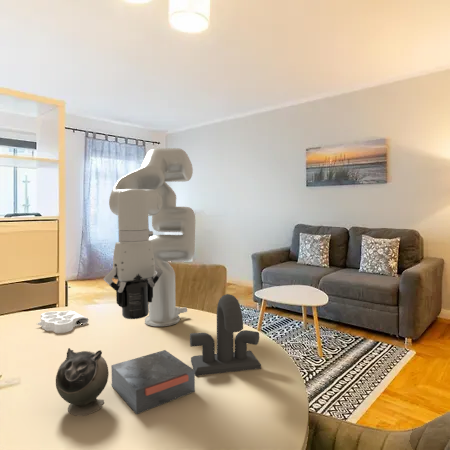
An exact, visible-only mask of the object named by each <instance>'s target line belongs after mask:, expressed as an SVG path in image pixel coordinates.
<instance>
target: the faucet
mask: <svg viewBox="0 0 450 450" xmlns="http://www.w3.org/2000/svg"><path fill="white" fill-rule="evenodd" d="M234 333H236V335H235V338H234ZM259 342H260V332H259V331H255V330H254V331H253V330H244V320H243V312H242V308H241V305H240V302H239V300H238V299H237V297H236V296H234V295H233V294H229V293H226V294H224V295H222V296H221V297H220V298H219V299H218V302H217V306H216V342H215V339H214V338H213V336H212V335H211V334H209V333H208V332H192V333H191V332H190V333H189V346H190V347H202V348H201V352H202V353H201V354H199V355H193V356H191V357H190V363H191V366H192V369H194V370H195V377H198V376H199V377H200V376H206V375H208V376H209V375H214V374H215V375H216V374H225V373H233V372H234V373H235V372H242V371H243V372H244V371H251V370H261V369H262V364H261V363H260V361H259V360H258V358H257V357H256V356H255V354H254V353H253V352H252V350H250V349H249V350H247V349H248V344H249V345H255V346H257V345H258V344H259ZM215 343H216V345H215ZM215 346H216V347H215Z"/></svg>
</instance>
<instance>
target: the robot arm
mask: <svg viewBox="0 0 450 450" xmlns="http://www.w3.org/2000/svg"><path fill="white" fill-rule="evenodd" d="M193 171H194V169H193V164H192V162H191V159H190V157H189V156H188V154H187V152H186V151H185V150H184V149H182V148H176V147H174V148H170V147H169V148H168V147H167V148H165V147H163V148H162V147H161V148H160V147H158V148H153V149H150V150H148V151H147V153H146V154H145V156H144V158H143V161H142V162H141V165H140V167H139V168H137V169H135V170H134V171H131V172H129V173H127V174H126V175H124V176H121V178H119V179H118V180H117V181H116V182H115V184H114V186H113V188H112V190H111V192H110V194H109V195H110V196H109V200H108V201H109V203H108V205H109V209H110V211H111V213H112V214H114V215H116V216H118V222H117V223H118V242H115V244H114V249H113V251H114V252H113V259H112V269H111V270H110V271H109V272H108V273H107V274H106V275H105V276H104V277H103V280H104V282H105V283H107V285H109V286H110V287H111V288H112V289H113V290H114V291H115V292H116V294H115V296H116V297H115V298H116V304H117V305H118V306H119V307H120V308H121V309H122V308H124V307H125V292H123V289H124V287H125V284H126V282H128V281H133V280H136V279H134V278H135V277H136V275H137V276H138V273H139V275H140V277H142V278H141V279H144V280H146V281H147V283H148V302H149V313H148V315H147V316H146V317H144V323H145V325H147V326H151V327H169V326H174V325H175V324H176V325H177V324H178V323H179V322H180V320H181V319H180V318H181V317H180V314H185V313H187V312H188V308H187V307H186V306H185V307H181V306H176V272H175V270H174V268H173V266H172V265H171V264H170V263H169V262H189V261H191V260H193V259H194V256H195V249H196V248H195V246H196V244H195V243H196V214H195V211H194V209H192V208H191V207H189V206H177V195H176V192H175V191H174V190H173V188H172V187H171V185H169V184H168V183H171V182H172V183H173V182H174V183H175V182H177V183H179V182H182V183H183V182H188V181H190V180H191V178H192V177H193V174H194V173H193ZM149 217H151V226H152V229H153V230H154V231H156V232H158V233H159V232H160V233H181V234H154V232H153V231H152V230H150V229H149ZM113 279H115V280H117V281H116V282H115V281H114V280H113Z"/></svg>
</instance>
